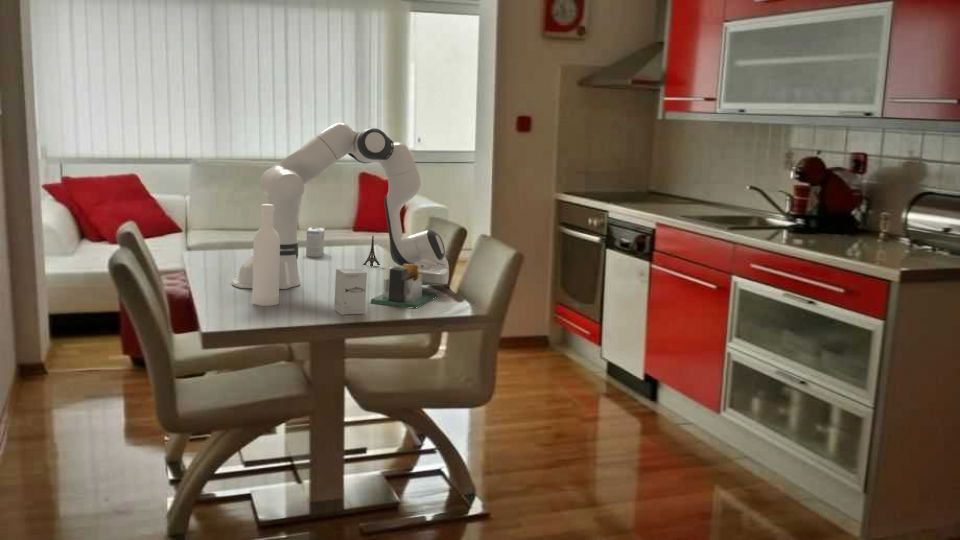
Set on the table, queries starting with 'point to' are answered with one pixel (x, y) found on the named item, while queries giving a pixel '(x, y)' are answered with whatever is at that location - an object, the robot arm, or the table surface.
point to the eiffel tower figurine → (372, 255)
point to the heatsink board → (403, 290)
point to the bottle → (266, 260)
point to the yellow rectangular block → (411, 271)
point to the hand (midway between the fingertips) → (410, 278)
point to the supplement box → (350, 291)
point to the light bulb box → (315, 242)
